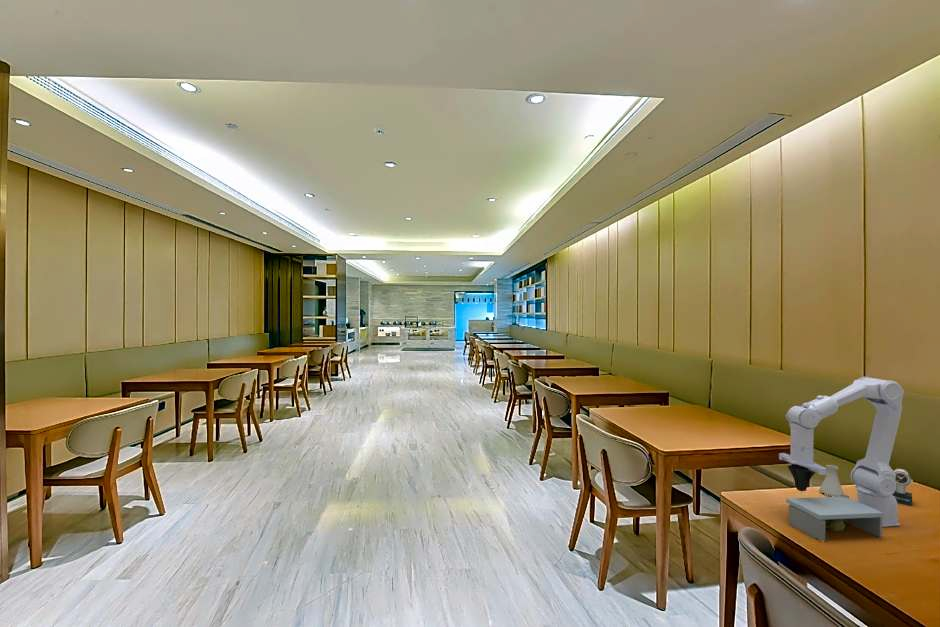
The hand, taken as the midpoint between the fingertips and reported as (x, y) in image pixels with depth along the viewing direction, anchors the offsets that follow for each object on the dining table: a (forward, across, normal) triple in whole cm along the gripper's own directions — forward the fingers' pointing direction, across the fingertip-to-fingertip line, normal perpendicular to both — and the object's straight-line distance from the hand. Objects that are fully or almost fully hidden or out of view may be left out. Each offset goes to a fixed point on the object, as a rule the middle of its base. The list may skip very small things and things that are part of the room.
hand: (801, 490), depth 138 cm
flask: (+10, -16, +30) cm, 36 cm away
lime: (+10, +7, +4) cm, 13 cm away
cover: (+3, +6, +4) cm, 8 cm away
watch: (+10, -8, +48) cm, 49 cm away
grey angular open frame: (+9, +8, +4) cm, 13 cm away
